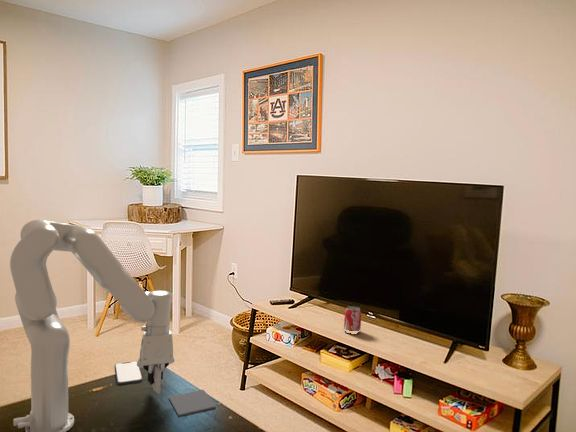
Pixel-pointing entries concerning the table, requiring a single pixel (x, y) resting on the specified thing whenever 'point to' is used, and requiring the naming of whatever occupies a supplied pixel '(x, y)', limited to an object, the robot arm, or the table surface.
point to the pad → (191, 402)
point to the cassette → (156, 378)
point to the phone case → (128, 373)
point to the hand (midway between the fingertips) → (154, 382)
